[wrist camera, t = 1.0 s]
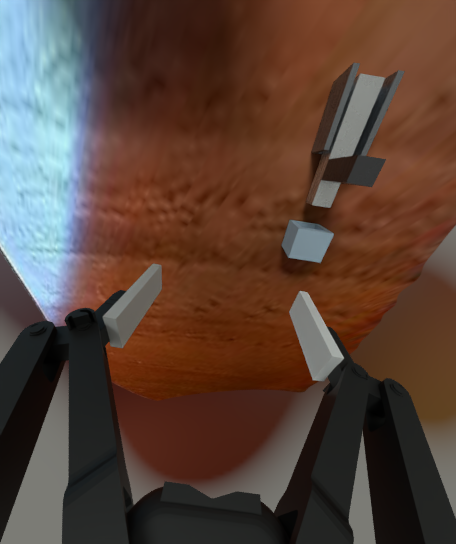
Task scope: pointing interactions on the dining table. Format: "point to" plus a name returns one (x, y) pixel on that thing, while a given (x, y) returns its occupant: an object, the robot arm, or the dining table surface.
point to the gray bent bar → (348, 146)
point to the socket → (306, 241)
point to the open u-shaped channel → (338, 103)
